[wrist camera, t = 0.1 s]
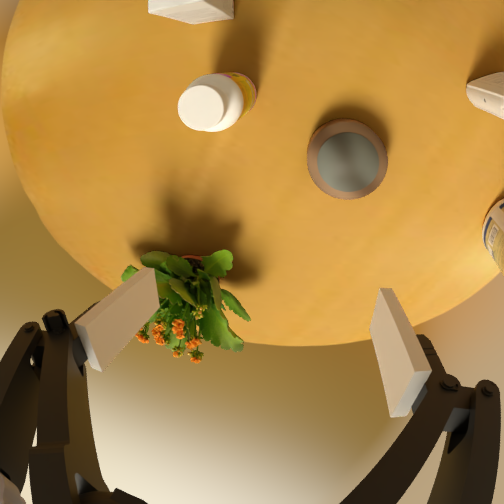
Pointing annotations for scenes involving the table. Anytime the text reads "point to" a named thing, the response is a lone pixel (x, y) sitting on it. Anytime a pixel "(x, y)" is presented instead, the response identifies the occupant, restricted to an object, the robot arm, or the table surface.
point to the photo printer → (488, 93)
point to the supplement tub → (495, 233)
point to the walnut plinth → (346, 159)
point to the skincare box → (193, 10)
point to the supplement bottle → (216, 101)
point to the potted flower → (190, 302)
